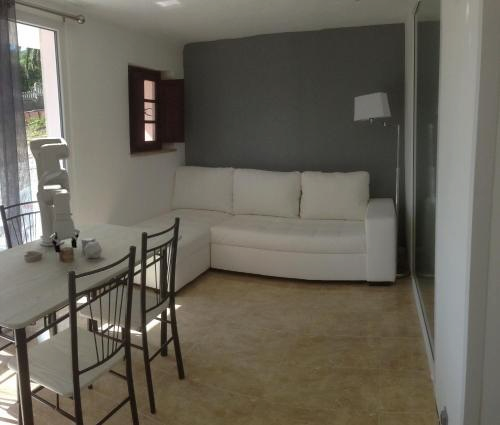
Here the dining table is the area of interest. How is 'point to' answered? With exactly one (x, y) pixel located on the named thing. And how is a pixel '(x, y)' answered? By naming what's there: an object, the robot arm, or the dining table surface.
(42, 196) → the robot arm
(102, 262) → the dining table surface
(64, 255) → the walnut block
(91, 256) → the die
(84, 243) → the grey block
